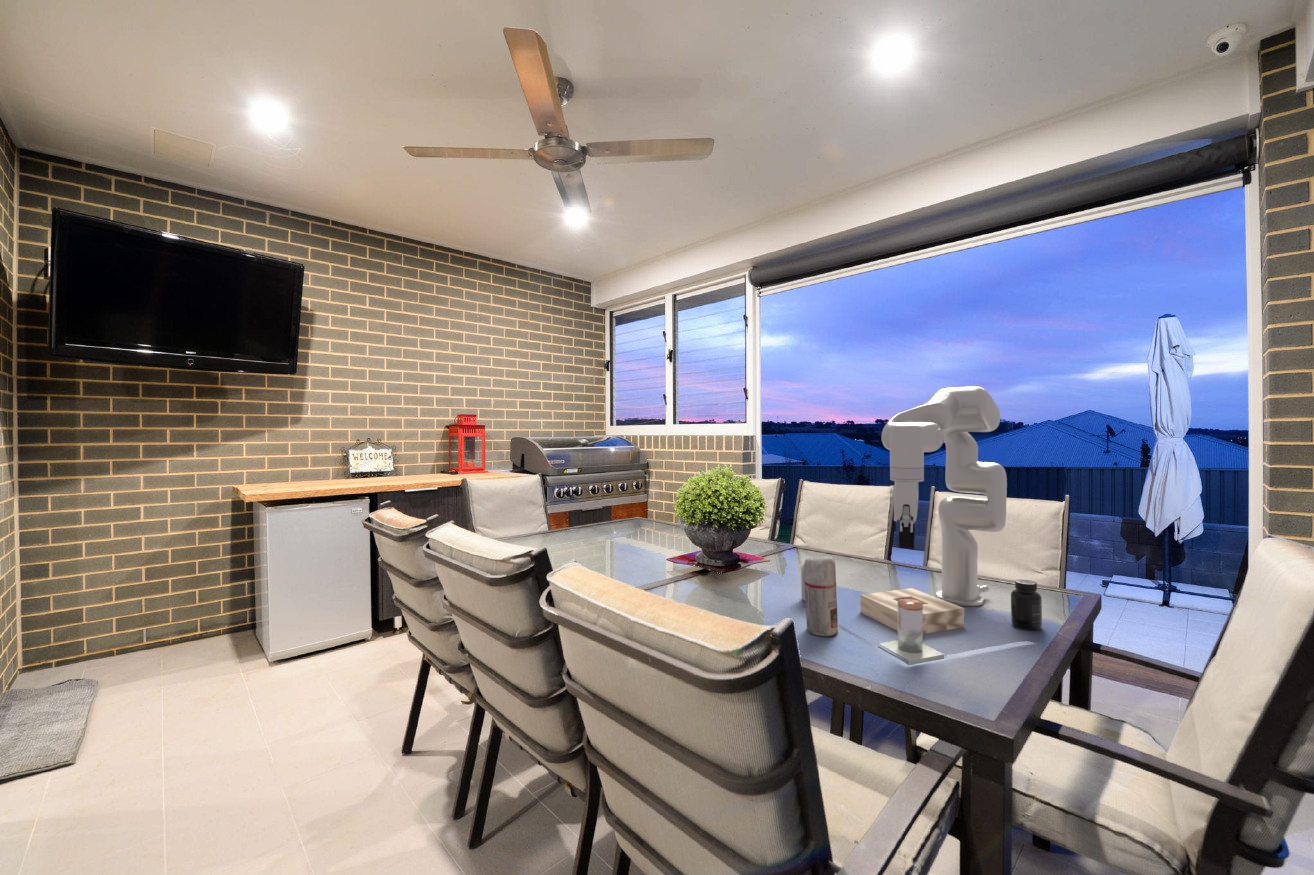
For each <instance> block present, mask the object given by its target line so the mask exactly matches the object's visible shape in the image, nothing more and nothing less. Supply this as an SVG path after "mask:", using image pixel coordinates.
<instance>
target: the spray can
mask: <svg viewBox="0 0 1314 875" xmlns="http://www.w3.org/2000/svg"><path fill="white" fill-rule="evenodd" d="M804 562H805V566H804V582H805V599H806V602H805V614H806V617H805V618H806V621H805V622H806V631H807V632H808V633H809V634H812V635H814V636H818V637H832V636H835V635H837V634H838V632H839V628H838V626H839V625H838V624H839V623H838V622H839V620H838V603H837V602H838V598H837V597H838V596H837V575H836V574H837V573H836V572H837V571H836V562H835V560H834V557H832V556H831V555H830V554H822V555H819V556H817V557H811V558H806V559H805V560H804Z"/></svg>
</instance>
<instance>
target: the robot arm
mask: <svg viewBox="0 0 1314 875" xmlns="http://www.w3.org/2000/svg"><path fill="white" fill-rule="evenodd" d="M1000 422H1001V413H1000V409H999V407H998V404H997V403H996V402H995V401H994V399H993V397H992V395H991V394H990V393H989V392H988V391H987V390H986V389H985V388H983V387H981V386H959V387H956V386H955V387H946V388H941V389H939V390H937V391H936V392H935V393H933V395H932V396H931V397H930V398H929V399H928V400H927V401H926V402H925V403H924V404H923V405H919V406H918V405H917V406H916V407H914V408H910V409H908V410H905V411H902V412H899V413H897V414H896V415H894V416H892V417H891V418H890V419H889V420H888V421H887V423H886V424H885V425H884V427H883V429H882V431H881V442H882V445H883V447H884V448H885V449H887V450H888V451H889V477H890V478H889V480H890V481H892V482H894V488H893V489H894V490H893V521H894V522H896V523H897V522H898V521H899V531H898V548H900V549H906V550H907V549H908V550H914V549H915V539H916V536H915V535H916V534H915V533H916V528H915V523H916V522H917V518H918V510H919V483H920V482H924V481H925V454H924V453H932V452H935V451H938V450H939V449H940V448H941V447H942V446H943V444H945V470H944V471H945V474H944V475H945V478H944V479H945V480H944V481H945V485H946V488H947V489H948V490H950V491H953V492H955V493H957V492H958V493H965V494H979V495H985V496H986V498H980V497H979V498H977V497H969V496H968V497H967V496H947V497H944V498H942V499H941V500H940V502H939V504H938V509H937V510H938V518H939V524H940V529H941V590H938V591H936V593H935V597H936V598H939V599H942V600H944V601H947V602H949V603H952V604H955V605H957V606H960V607H978V606H981V605H983V604H984V598H983V597H982V596H980V594H982V593H987V592H989V587H988V585H985V584H984V585H978V558H979V557H978V556H979V554H978V550H979V549H978V542H977V540H976V538H975V537H974V535H973V534H972V532H970V530H971V531H973V530H974V531H979V532H989V533H999V532H1001V531H1003V530H1004V528H1005V526H1006V521H1007V496H1008V495H1007V494H1008V491H1007V490H1008V489H1007V488H1008V482H1007V481H1008V477H1007V472H1006V470H1005V468H1004V466H1002V465H1001V464H1000V463H997V462H990V461H989V462H988V461H984V462H983V461H979V446H978V443H977V441H976V440H975V438H974V437H973V436H972V434H970V433H990V432H993V431H995V430H996V429H998V427H999V425H1000Z"/></svg>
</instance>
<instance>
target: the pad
mask: <svg viewBox="0 0 1314 875" xmlns="http://www.w3.org/2000/svg"><path fill="white" fill-rule="evenodd" d="M877 644H878V646H877V648H879V649H880V650H882V651H884V652H886V653H888V654H889V655H891V656H893V657H895V658H896V659H898V660H900V661H901V662H904V663H905V664H907V665H908V666H911V665H916V664H922V663H928V662H933V661H938V660H939V661H940V660H944V659H945V653H943V652H940V651H938V650H937V649H934V648H932V647H931V646H929V645H926V644H925V643H923V651H922V652H921V653H908V652H904V651H902V650H900V649H899V648H898V639H896V640H890V641H884V642H880V643H877ZM879 645H880V646H879ZM881 646H882V647H884V648H885V649H884V648H882V647H881ZM886 649H887V650H886ZM888 650H889V651H891V652H889V651H888ZM892 652H893V653H895V654H896V655H895V654H893V653H892ZM897 655H898V656H900V657H898V656H897ZM901 657H902V658H904V659H905V660H904V659H902V658H901Z"/></svg>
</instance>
